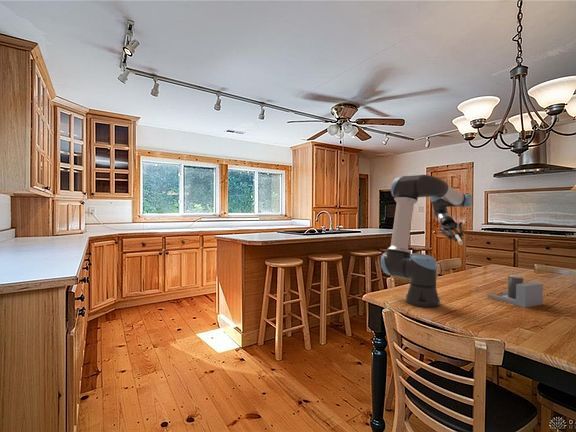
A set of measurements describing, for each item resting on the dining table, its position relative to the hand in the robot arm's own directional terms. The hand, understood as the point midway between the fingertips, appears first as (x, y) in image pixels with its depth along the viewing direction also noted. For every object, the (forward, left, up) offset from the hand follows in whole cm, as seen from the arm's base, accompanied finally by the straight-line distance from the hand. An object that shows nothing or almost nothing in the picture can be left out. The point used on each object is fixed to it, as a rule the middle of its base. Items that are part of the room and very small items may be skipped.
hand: (461, 243), depth 159 cm
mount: (+14, -17, -27) cm, 35 cm away
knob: (+14, -19, -27) cm, 36 cm away
